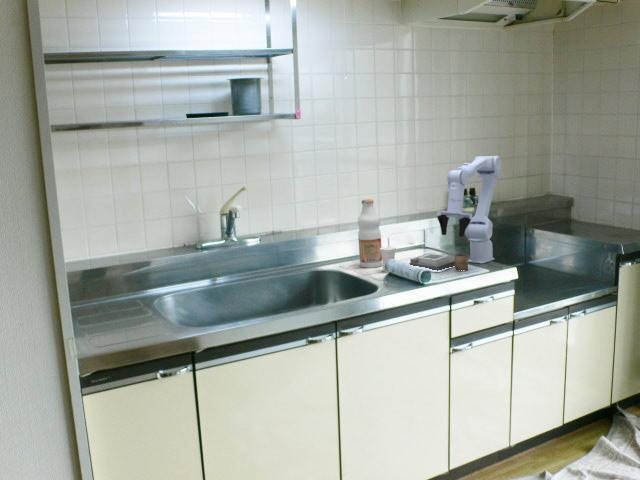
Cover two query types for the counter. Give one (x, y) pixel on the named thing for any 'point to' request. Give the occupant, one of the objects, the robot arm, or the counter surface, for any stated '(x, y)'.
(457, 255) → the brown short cylinder
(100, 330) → the counter surface
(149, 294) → the counter surface
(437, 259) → the grey square box
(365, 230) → the fruit juice
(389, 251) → the smoothie
